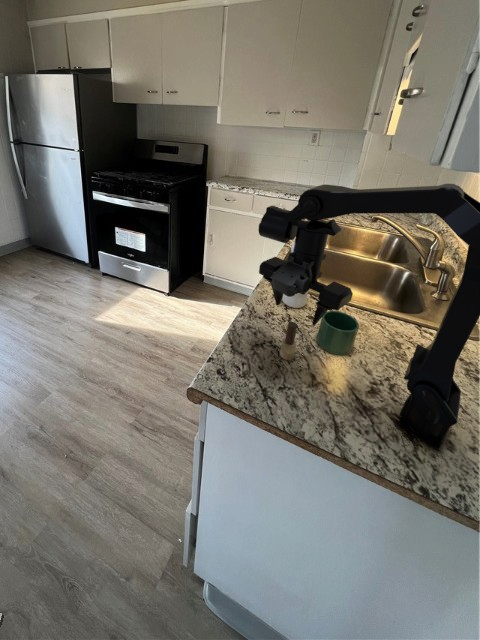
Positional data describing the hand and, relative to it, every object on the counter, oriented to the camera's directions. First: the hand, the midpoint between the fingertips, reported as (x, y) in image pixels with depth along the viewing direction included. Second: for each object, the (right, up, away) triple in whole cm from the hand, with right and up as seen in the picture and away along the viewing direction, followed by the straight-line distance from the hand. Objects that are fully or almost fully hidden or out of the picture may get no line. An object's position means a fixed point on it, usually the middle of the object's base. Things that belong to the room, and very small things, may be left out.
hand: (295, 314), depth 69 cm
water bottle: (+8, -1, +26) cm, 27 cm away
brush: (0, -11, +5) cm, 12 cm away
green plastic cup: (+13, -9, +9) cm, 18 cm away
